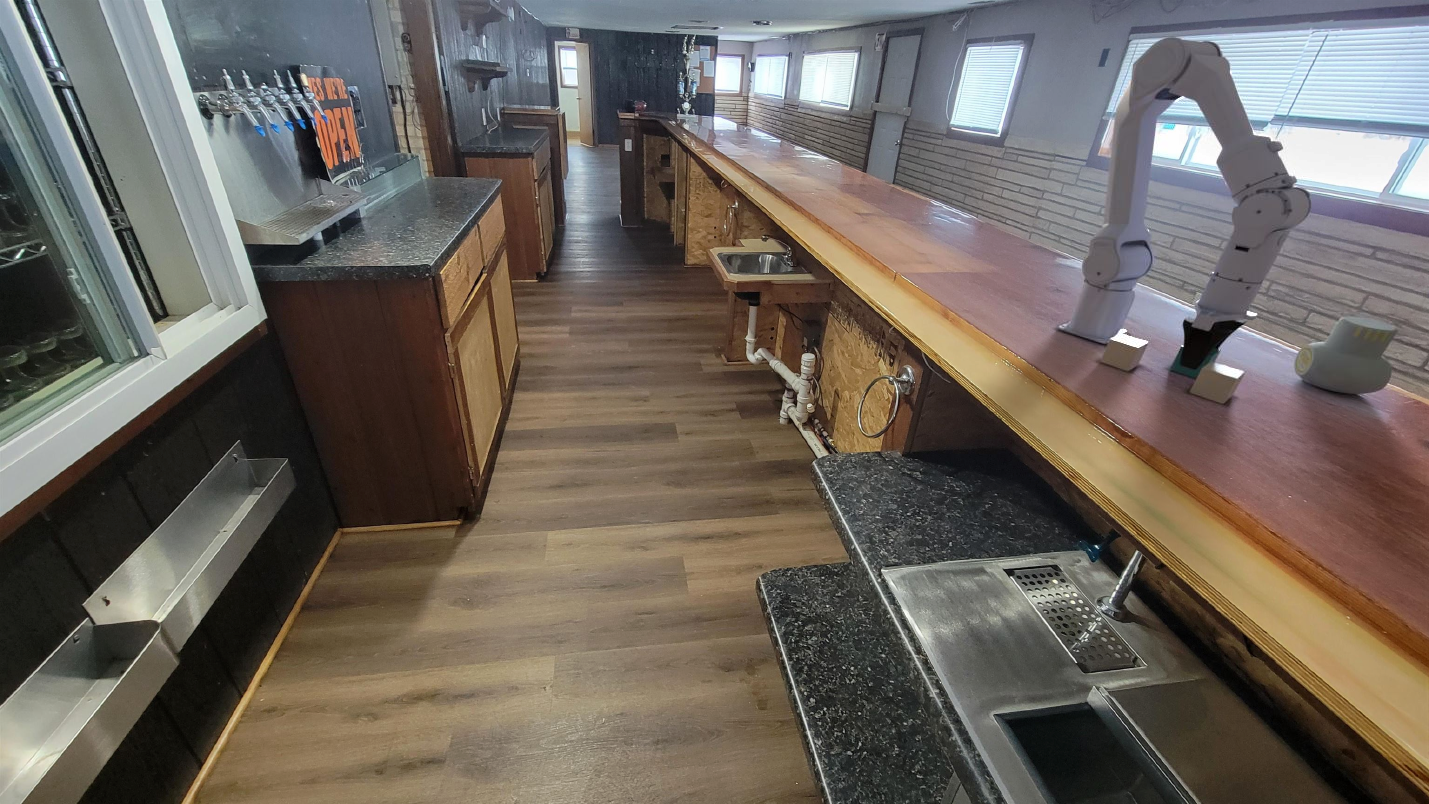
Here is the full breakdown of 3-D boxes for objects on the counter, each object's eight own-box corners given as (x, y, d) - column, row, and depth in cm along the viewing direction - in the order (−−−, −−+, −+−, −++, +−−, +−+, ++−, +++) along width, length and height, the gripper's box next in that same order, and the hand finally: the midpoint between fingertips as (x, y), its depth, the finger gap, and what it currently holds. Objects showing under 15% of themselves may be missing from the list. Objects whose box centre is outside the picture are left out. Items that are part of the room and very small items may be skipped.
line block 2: (1198, 385, 83) (1211, 361, 81) (1231, 396, 80) (1245, 371, 78) (1189, 392, 81) (1202, 367, 79) (1222, 404, 78) (1237, 378, 76)
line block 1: (1110, 356, 91) (1120, 333, 89) (1138, 365, 89) (1148, 342, 87) (1100, 361, 89) (1109, 338, 87) (1127, 371, 86) (1138, 347, 84)
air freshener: (1378, 408, 79) (1425, 342, 74) (1300, 391, 83) (1341, 327, 78) (1354, 379, 87) (1396, 318, 82) (1285, 365, 91) (1321, 306, 86)
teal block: (1178, 363, 90) (1190, 340, 88) (1208, 373, 87) (1221, 349, 85) (1169, 369, 88) (1181, 346, 86) (1200, 379, 85) (1212, 355, 83)
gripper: (1258, 293, 73) (1209, 385, 80) (1286, 276, 81) (1239, 362, 88) (1194, 279, 78) (1152, 367, 85) (1226, 264, 86) (1186, 346, 92)
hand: (1193, 363), depth 86 cm, fingers closed on teal block, 4 cm apart
